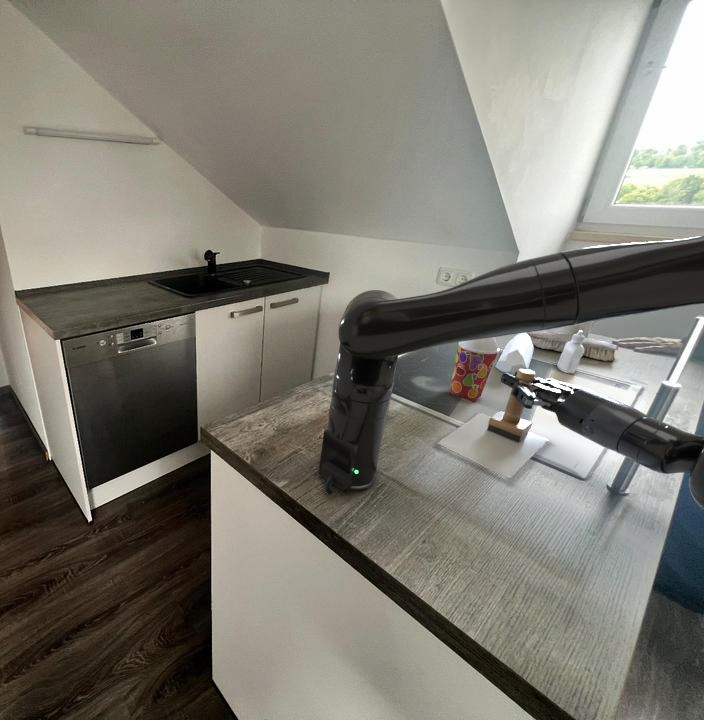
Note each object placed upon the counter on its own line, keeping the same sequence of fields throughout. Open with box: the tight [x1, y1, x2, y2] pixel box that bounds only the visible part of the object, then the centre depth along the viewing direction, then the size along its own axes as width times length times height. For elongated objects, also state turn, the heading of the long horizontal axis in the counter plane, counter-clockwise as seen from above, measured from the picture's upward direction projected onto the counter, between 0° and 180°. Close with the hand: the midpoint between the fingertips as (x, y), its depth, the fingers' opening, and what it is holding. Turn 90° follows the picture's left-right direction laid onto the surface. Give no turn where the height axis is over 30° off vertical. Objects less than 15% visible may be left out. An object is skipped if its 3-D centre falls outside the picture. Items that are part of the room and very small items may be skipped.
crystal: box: [494, 333, 535, 376], centre depth 117 cm, size 7×7×24 cm
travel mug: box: [557, 322, 595, 338], centre depth 132 cm, size 8×8×18 cm
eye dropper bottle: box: [556, 331, 584, 374], centre depth 110 cm, size 4×6×12 cm
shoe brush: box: [527, 330, 619, 362], centre depth 125 cm, size 24×8×5 cm, turn 52°
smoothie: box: [449, 337, 500, 402], centre depth 94 cm, size 8×8×20 cm
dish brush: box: [487, 368, 536, 442], centre depth 79 cm, size 5×6×14 cm
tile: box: [436, 412, 550, 480], centre depth 79 cm, size 20×13×1 cm, turn 126°
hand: (509, 376), depth 79 cm, fingers closed on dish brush, 2 cm apart
